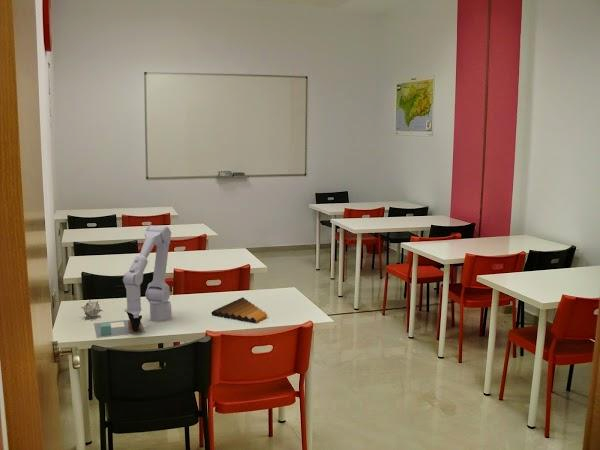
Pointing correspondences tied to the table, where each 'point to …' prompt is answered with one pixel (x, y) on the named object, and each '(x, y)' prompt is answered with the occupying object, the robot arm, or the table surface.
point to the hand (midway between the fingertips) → (134, 329)
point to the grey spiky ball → (91, 309)
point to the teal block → (105, 329)
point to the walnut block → (131, 327)
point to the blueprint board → (116, 328)
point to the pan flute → (241, 311)
